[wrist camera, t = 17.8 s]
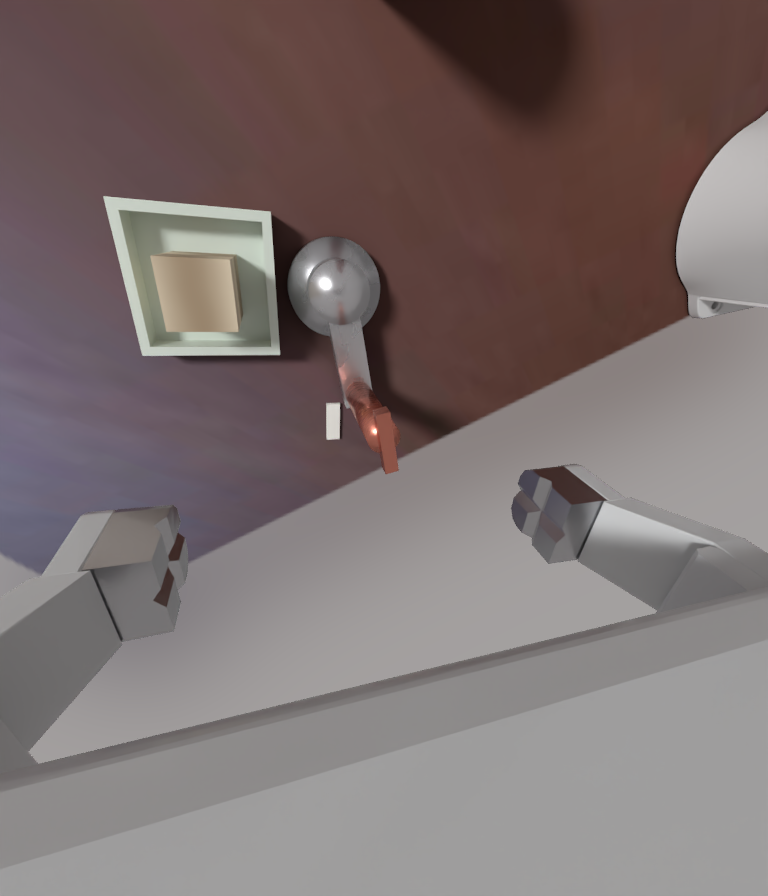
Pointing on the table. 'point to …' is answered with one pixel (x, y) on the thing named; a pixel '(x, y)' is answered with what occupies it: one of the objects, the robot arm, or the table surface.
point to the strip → (333, 420)
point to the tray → (206, 231)
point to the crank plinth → (309, 259)
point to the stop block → (198, 291)
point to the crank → (352, 349)
